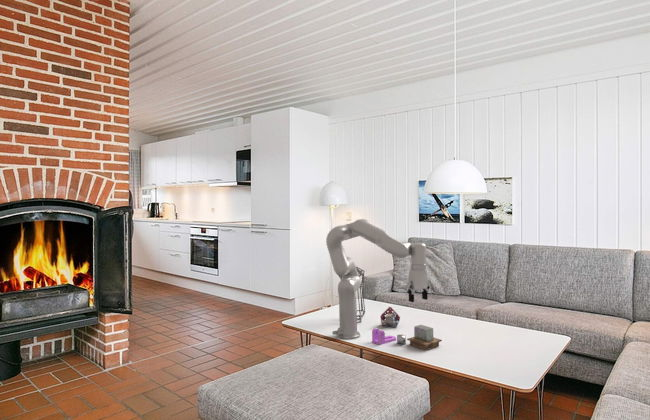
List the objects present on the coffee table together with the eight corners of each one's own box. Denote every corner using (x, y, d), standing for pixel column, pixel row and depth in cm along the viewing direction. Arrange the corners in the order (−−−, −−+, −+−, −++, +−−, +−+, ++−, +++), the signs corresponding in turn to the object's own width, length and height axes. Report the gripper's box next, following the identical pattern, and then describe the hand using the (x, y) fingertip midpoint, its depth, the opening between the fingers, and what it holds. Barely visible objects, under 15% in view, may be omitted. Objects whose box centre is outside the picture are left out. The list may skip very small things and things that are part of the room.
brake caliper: (400, 318, 251) (399, 305, 244) (400, 334, 242) (399, 321, 235) (381, 318, 254) (380, 305, 246) (380, 333, 245) (378, 320, 238)
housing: (413, 338, 213) (413, 326, 213) (420, 336, 216) (420, 324, 216) (427, 342, 206) (426, 330, 206) (433, 340, 209) (433, 328, 208)
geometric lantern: (366, 324, 248) (363, 266, 248) (339, 324, 251) (337, 266, 250) (367, 317, 264) (365, 262, 263) (342, 317, 266) (340, 262, 266)
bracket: (379, 345, 212) (379, 331, 212) (372, 342, 217) (372, 328, 217) (398, 340, 220) (398, 326, 220) (390, 337, 224) (390, 324, 224)
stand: (425, 351, 202) (425, 344, 202) (407, 344, 212) (407, 338, 212) (441, 345, 209) (441, 339, 209) (423, 339, 219) (423, 334, 219)
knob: (401, 345, 211) (401, 337, 211) (395, 343, 214) (395, 335, 214) (407, 343, 213) (407, 336, 213) (401, 341, 217) (401, 333, 217)
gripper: (424, 264, 223) (424, 297, 223) (400, 267, 213) (400, 301, 213) (435, 266, 216) (435, 299, 217) (411, 269, 207) (411, 304, 207)
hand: (418, 300), depth 215 cm, fingers open, 9 cm apart
